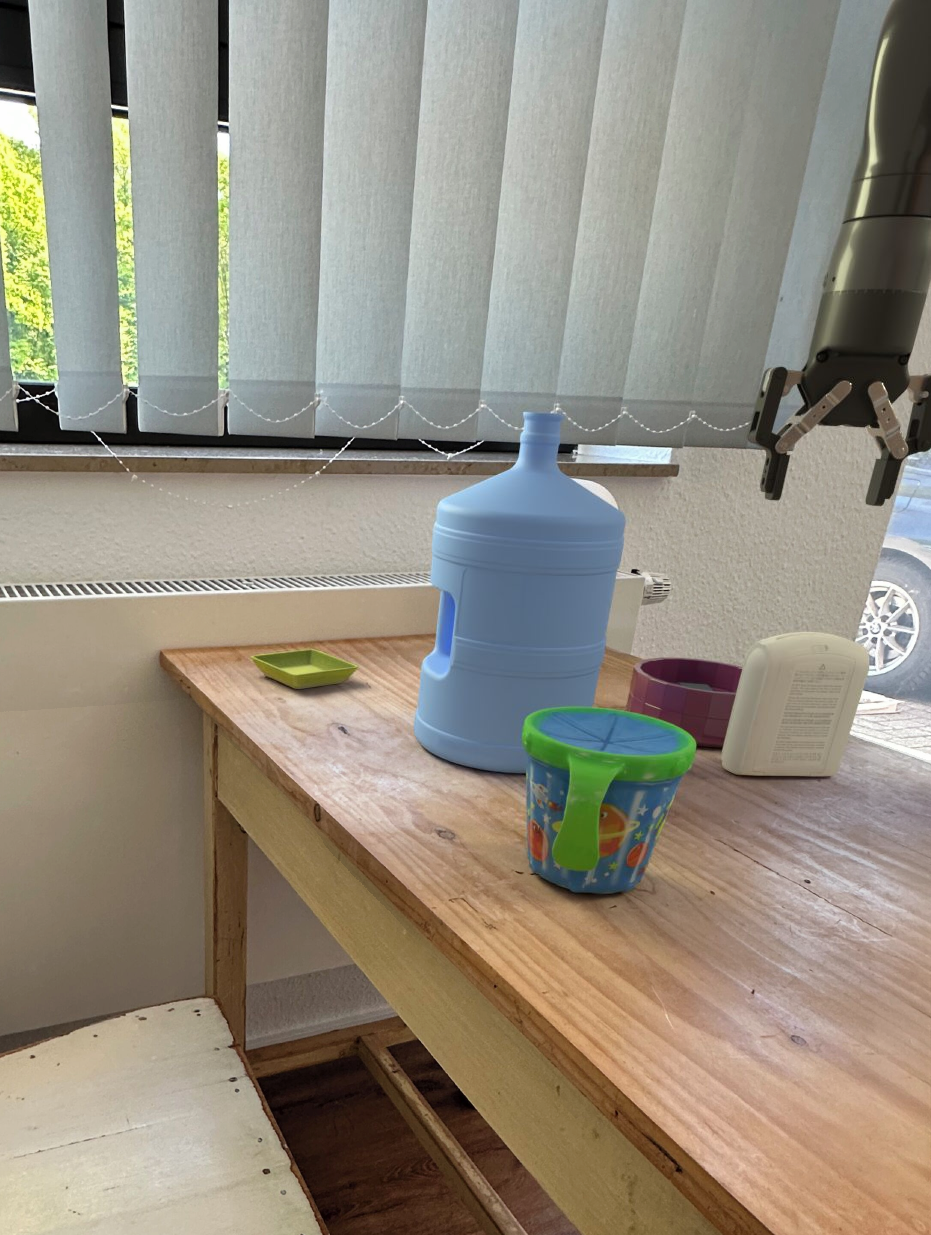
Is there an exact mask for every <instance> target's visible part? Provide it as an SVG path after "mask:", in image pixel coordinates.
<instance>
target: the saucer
mask: <svg viewBox="0 0 931 1235" xmlns="http://www.w3.org/2000/svg"><path fill="white" fill-rule="evenodd" d="M250 659H251V660H252V662H253V663H254V665H255V666H256V667H257V669H259V671H260V672H262V674H263V675H264V676H265V677H268V678H270V679H273V680H275V681H277V682H279V683H281V684H283V685H286V686H288V687H290V688H292V689H294V690H302V689H310V688H316V687H324V686H331V685H338V684H341V683H343V682H345V681H346V680H348V679H349V678H350V677H351V676H353V674H354V673H355V672H356V671H358V668H359V666H358V665H357V664H354V663H352V662H349V661H347V660H344V659H341V658H339V657H336V656H334V655H331V654H328V653H326V652H323V651H320V650H318V649H315V648H308V649H306V648H305V649H298V650H290V651H289V650H288V651H281V652H280V651H279V652H272V653H263V654H256V655H255V654H254V655H250Z"/></svg>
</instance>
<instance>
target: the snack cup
mask: <svg viewBox="0 0 931 1235" xmlns="http://www.w3.org/2000/svg"><path fill="white" fill-rule="evenodd" d="M522 743H523V746H524V748H525V751H526V755H527V765H526V766H527V769H526V773H525V796H526V797H525V798H526V799H525V805H526V806H525V812H526V822H525V823H526V844H527V846H526V855H527V859H528V866H529V868H530V869H531V871H532V873H533V874H538V875H539V876H540V877H541V878H543V879H545V880H546V881H548V882H549V883H552V884H554V885H556V886H559V887H561V888H565V889H568V890H570V892H573V893H578V894H579V893H587V894H589V893H591V894H595V895H605V894H614V893H618V892H626V893H627V892H631V890H634V888H635V887H636V885H637V884H639V883H640V882H641V881H642V878H643V876H644V875H645V873H646V870H647V868H648V866H649V864H650V861H651V859H652V857H653V853H654V851H655V849H656V845H657V843H658V841H659V839H660V836H661V833H662V831H663V828H664V825H665V823H666V821H667V819H668V818H667V817H668V815H669V812H670V810H671V807H672V805H673V803H674V799H675V797H676V794H677V791H678V788H679V785H680V783H681V780H682V778H683V777H684V776H685V775H686V773H687V772H689V771H690V770H691V768H692V766H693V764H694V761H695V756H696V751H697V746H696V742H695V739H694V738H693V737H692V736H691V735H690V734H689V733H687V732H686V731H685V730H683V729H681V728H679V727H677V726H675V725H673V724H670V723H668V722H665V721H663V720H659V719H656V718H653V717H649V716H646V715H642V714H638V713H632V712H628V711H626V710H620V709H614V708H607V707H597V706H596V707H594V706H593V707H576V706H574V707H557V708H548V709H543V710H539V711H536V712H534V713H532V714H530V715H529V716H527V717H526V719H525V722H524V726H523V731H522Z"/></svg>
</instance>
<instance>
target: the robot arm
mask: <svg viewBox="0 0 931 1235" xmlns="http://www.w3.org/2000/svg"><path fill="white" fill-rule="evenodd" d="M884 15H885V16H884V18H883V21H882V24H881V26H880V29H879V34H878V39H877V42H876V48H875V53H874V57H873V64H872V70H871V76H870V83H869V87H868V88H869V89H868V96H867V103H866V109H865V117H864V118H865V119H864V125H863V135H862V140H861V144H860V149H859V153H858V156H857V159H856V163H855V165H854V166H855V167H854V169H853V173H852V177H851V180H850V185H849V190H848V194H847V198H846V202H845V207H844V211H843V216H842V221H841V225H840V227H839V232H838V235H837V238H836V240H835V244H834V246H833V249H832V251H831V255H830V259H829V263H828V265H827V269H826V270H827V271H826V273H825V275H824V278H823V282H822V293H821V297H820V301H819V306H818V310H817V315H816V320H815V323H814V324H815V325H814V327H813V332H812V337H811V342H810V347H809V351H808V355H807V356H808V358H807V360H806V363H805V364H804V366H803V368H802V369H801V370H793V369H787V367H785V366H774V367H768V368H767V369H766V370H765V371H764V372H763V374H762V378H761V382H760V385H759V389H758V394H757V397H756V401H755V405H754V407H753V412H752V416H751V419H750V424H749V427H748V431H747V435H746V439H747V441H748V442H749V443H750V444H753V445H756V446H758V447H760V448H762V449H763V450H764V451H765V460H764V464H763V469H762V474H761V479H760V482H759V488H760V492H762V493H764V499H765V500H769V501H778V502H779V501H780V500H781V498H782V494H783V490H784V485H785V481H786V476H787V472H788V467H789V465H790V464H789V463H790V458H791V454H788V452H789V451H790V449H792V447H794V446H795V444H796V443H798V442H799V441H800V440H801V439H802V437H804V436H805V435H806V434H808V433H810V432H811V431H812V430H814V428H816V426H821V427H839V426H844V427H846V428H847V427H848V428H863V429H864V428H866V430H867V432H868V434H869V435H870V436H871V437H872V438H873V440H874V442H875V444H876V447H877V448H878V452H879V453H880V458H876V459H875V463H874V465H873V469H872V473H871V477H870V481H869V484H868V488H867V493H866V496H865V500H864V501H865V505H867V506H872V507H883V506H884V504H885V502H886V500H891V497H892V496H893V495H894V493H895V489H896V485H897V481H898V479H899V474H900V471H901V467H902V464H903V461H904V460H905V459H906V458H907V457H909V456H912V455H915V454H918V453H926V452H929V451H931V372H930V373H925V374H922V375H920V374H919V375H918V374H917V375H911V374H910V372H909V361H910V358H911V355H912V353H913V350H914V347H915V342H916V340H917V339H916V338H917V335H918V331H919V328H920V324H921V320H922V316H923V312H924V308H925V305H926V302H927V298H928V293H929V290H930V286H931V0H892V1H891V3H890V4H889V6H888V9H887V11H886V12H885V14H884ZM795 386H796V387H797V390H798V392H799V394H800V396H801V398H802V402H803V403H802V404H801V405H800V406H798V408H797V409H796V410H795V411H794V412H793V413H792V414H791V415H790V416H789V417H788V418H787V419H786V421H785V422H784V424H783V426H781V427H780V428H779V429H778V430H777V431H776V433H775V432H773V430H774V425H775V422H776V419H777V415H778V411H779V408H780V404H781V401H782V398H784V397H787V396H788V395H789V394H790V392H791V390H792V388H793V387H795ZM906 391H907V392H908V400H909V402H911V403H912V408H911V412H910V416H909V420H908V421H909V422H908V426H907V431H906V435H905V438H904V435H903V433H902V430H901V427H902V426H901V422H900V420H899V418H898V416H897V414H896V411H895V410H894V407H893V404H894V403H895V402H896V401H897V400H898V399H899V398H900V397H901V396H902V395H903V394H904V393H905V392H906Z"/></svg>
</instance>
